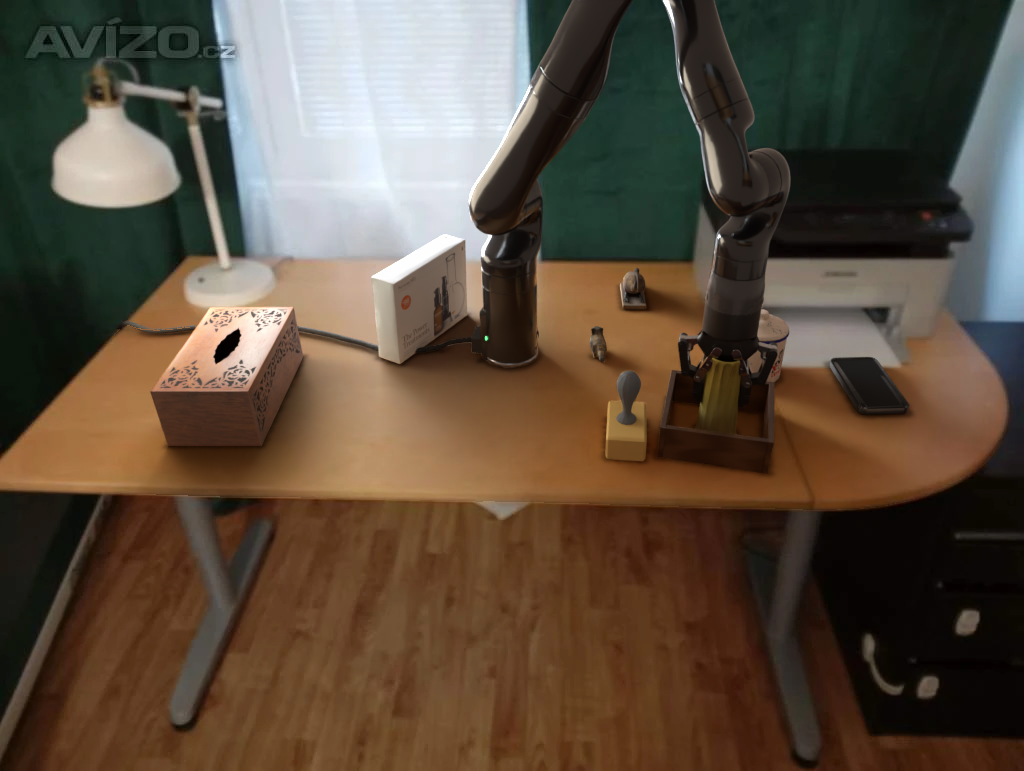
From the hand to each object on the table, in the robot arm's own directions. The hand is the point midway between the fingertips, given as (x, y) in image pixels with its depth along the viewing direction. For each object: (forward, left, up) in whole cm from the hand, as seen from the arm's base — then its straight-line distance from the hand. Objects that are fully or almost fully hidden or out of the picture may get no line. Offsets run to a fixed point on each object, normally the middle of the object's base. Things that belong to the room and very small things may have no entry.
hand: (719, 401), depth 120 cm
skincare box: (-53, +18, -6) cm, 56 cm away
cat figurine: (-21, +18, -6) cm, 28 cm away
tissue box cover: (-76, -8, -6) cm, 77 cm away
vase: (0, 0, -6) cm, 6 cm away
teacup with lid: (+5, +20, -6) cm, 21 cm away
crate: (0, 0, -6) cm, 6 cm away
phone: (+23, +18, -6) cm, 30 cm away
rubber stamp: (-13, -5, -6) cm, 15 cm away
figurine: (-18, +39, -6) cm, 43 cm away
